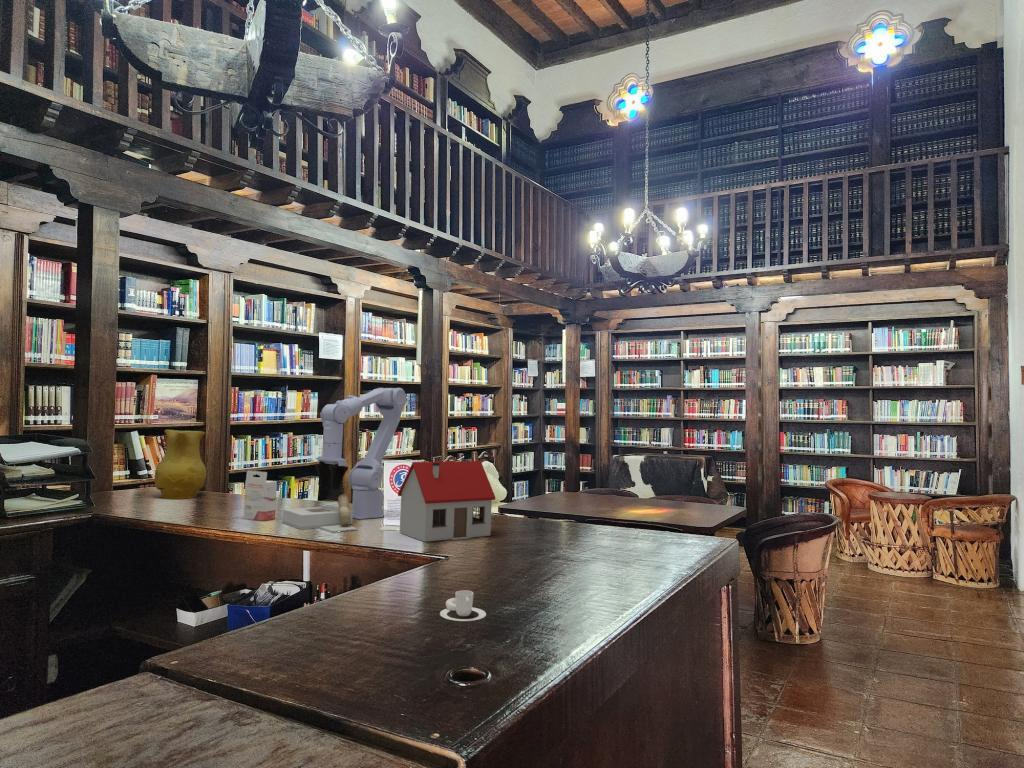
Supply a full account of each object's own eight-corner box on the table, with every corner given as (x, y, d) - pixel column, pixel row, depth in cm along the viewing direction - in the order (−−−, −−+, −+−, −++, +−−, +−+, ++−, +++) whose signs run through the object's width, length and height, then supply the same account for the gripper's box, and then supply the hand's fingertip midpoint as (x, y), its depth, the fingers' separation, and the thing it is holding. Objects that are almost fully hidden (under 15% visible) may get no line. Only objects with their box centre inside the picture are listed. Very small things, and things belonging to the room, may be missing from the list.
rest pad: (344, 526, 194) (344, 524, 194) (358, 530, 188) (358, 528, 188) (319, 528, 188) (319, 526, 188) (332, 532, 182) (332, 531, 183)
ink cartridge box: (276, 519, 201) (278, 471, 202) (264, 521, 197) (267, 472, 198) (254, 516, 205) (257, 469, 205) (242, 518, 200) (245, 470, 201)
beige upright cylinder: (339, 526, 190) (337, 501, 197) (350, 526, 191) (347, 500, 198) (340, 519, 188) (338, 494, 196) (350, 519, 189) (348, 493, 197)
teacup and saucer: (443, 607, 118) (444, 584, 118) (487, 609, 117) (488, 586, 118) (436, 622, 109) (437, 598, 109) (484, 625, 109) (485, 600, 109)
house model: (472, 527, 201) (474, 459, 202) (499, 539, 183) (502, 464, 184) (392, 530, 190) (395, 458, 191) (413, 543, 172) (416, 464, 173)
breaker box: (331, 518, 206) (332, 505, 206) (352, 524, 197) (352, 511, 197) (282, 522, 195) (283, 509, 196) (301, 529, 186) (302, 515, 186)
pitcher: (140, 497, 235) (149, 427, 237) (175, 494, 253) (183, 429, 256) (183, 501, 232) (192, 430, 234) (215, 498, 250) (223, 432, 253)
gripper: (309, 442, 203) (306, 486, 202) (331, 444, 192) (328, 491, 191) (330, 442, 207) (327, 485, 207) (353, 444, 197) (350, 490, 196)
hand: (329, 488), depth 199 cm, fingers open, 7 cm apart
